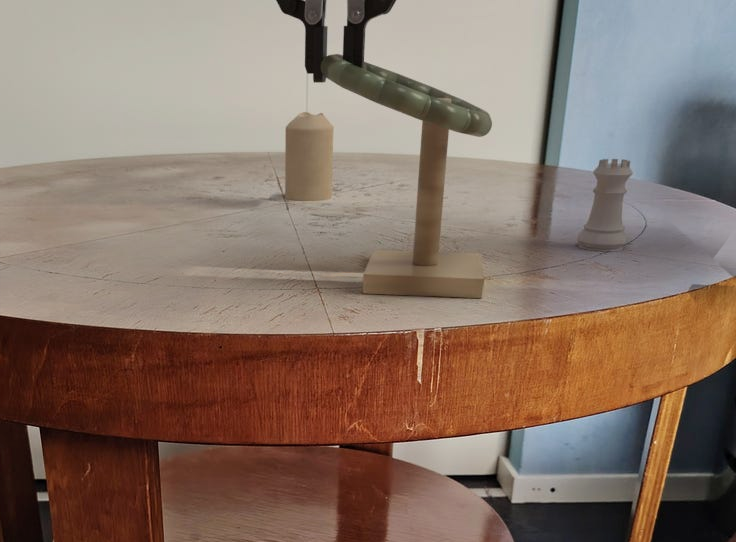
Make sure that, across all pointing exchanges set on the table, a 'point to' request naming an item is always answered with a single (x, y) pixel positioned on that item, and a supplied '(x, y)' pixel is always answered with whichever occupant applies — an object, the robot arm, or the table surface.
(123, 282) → the table surface
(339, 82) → the hoop
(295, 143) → the candle
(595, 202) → the rook chess piece
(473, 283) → the post
